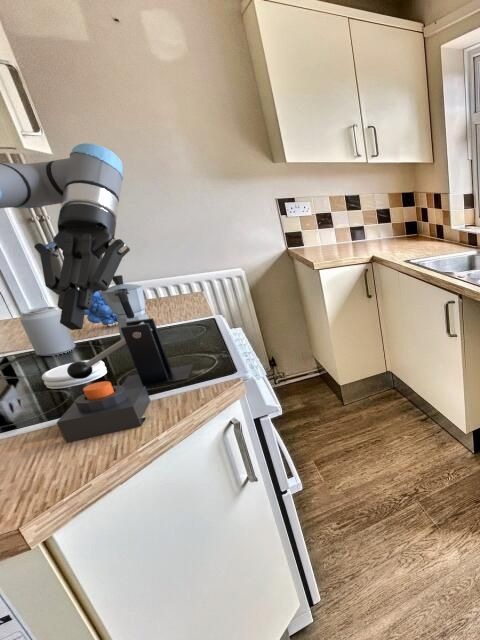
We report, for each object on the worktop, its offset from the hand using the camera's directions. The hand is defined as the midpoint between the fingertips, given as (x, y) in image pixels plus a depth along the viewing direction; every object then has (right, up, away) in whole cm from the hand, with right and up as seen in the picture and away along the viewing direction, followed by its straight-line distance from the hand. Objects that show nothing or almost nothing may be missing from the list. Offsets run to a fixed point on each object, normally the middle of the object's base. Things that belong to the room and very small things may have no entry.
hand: (71, 325), depth 70 cm
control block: (+1, -18, +7) cm, 19 cm away
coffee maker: (-33, -2, +50) cm, 60 cm away
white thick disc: (-23, -12, +24) cm, 35 cm away
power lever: (-9, -6, +17) cm, 20 cm away
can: (-47, -6, +41) cm, 63 cm away
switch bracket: (-4, -12, +22) cm, 25 cm away
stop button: (+1, -12, +5) cm, 13 cm away
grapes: (-51, +2, +61) cm, 79 cm away
